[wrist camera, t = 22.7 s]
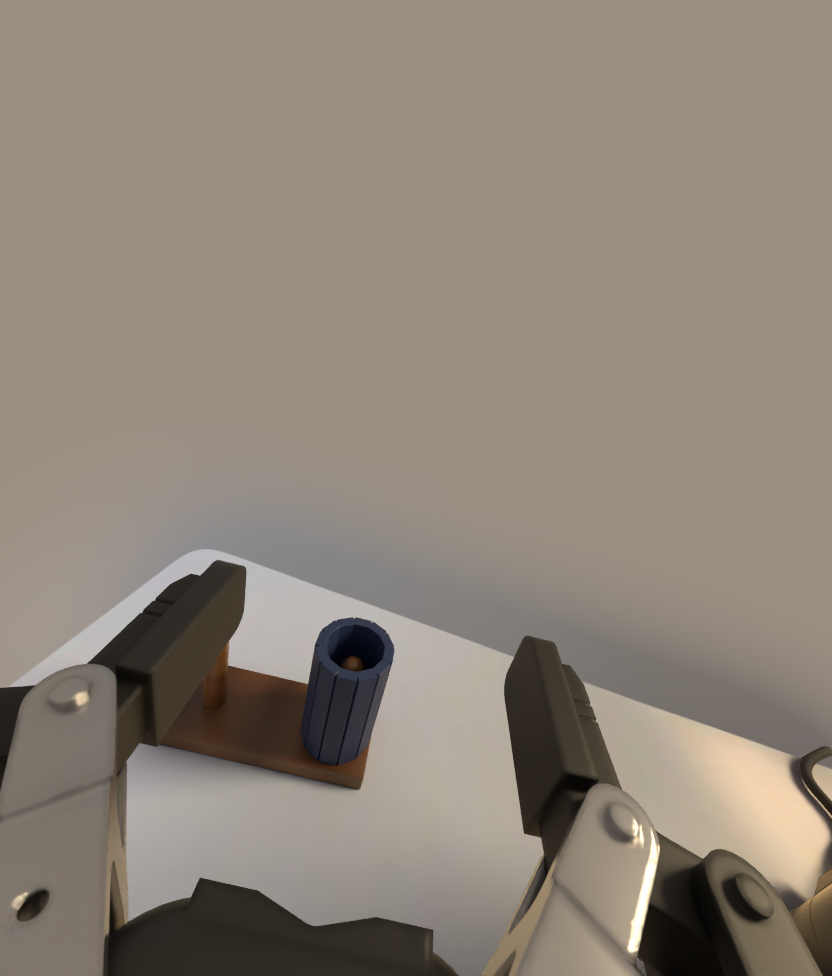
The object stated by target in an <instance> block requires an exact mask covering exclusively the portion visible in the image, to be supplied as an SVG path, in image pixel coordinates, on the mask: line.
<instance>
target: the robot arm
mask: <svg viewBox="0 0 832 976" xmlns="http://www.w3.org/2000/svg"><path fill="white" fill-rule="evenodd" d="M245 586H246V568H245V567H244V566H241V565H237V564H233V563H228V562H224V561H220V560H217V561H215V562H213V563H212V564H211V565H210V566H209V567H208V568H207V570H206V571H205V572H204V573H203V574H202V575H201V576H198V575H194V574H189V575H187V576H185V577H183V578H181V579H179V580H178V581H176V582H174V583H172V584H170V585H169V586H168V587H167V588H166V589H165V590H164V591H163V592H162V593H161V594H160V595H159V596H158V597H157V598H156V600H155V601H152V602H151V603H150V604H149V605H148V606H147V607H146V608H145V609H144V611H143V613H140V614H139V615H138V616H137V617H136V618H135V619H134V620H133V621H131V622H130V623H129V624H128V625H127V626H126V627H125V628H124V629H123V630H122V631H121V632H120V633H119V634H118V635H117V636H116V637H115V638H114V639H113V640H112V641H111V642H110V643H108V644H107V645H106V646H105V647H104V648H103V649H102V650H101V651H100V652H99V653H98V654H97V655H96V656H95V657H94V658H93V659H92V660H91V661H89V662H88V663H87V664H82V665H76V666H72V667H69V668H65V669H63V670H60V671H58V672H56V673H54V674H52V675H50V676H48V677H47V678H45V679H43V680H42V681H41V682H39V683H38V684H37V685H34V686H24V687H8V688H0V976H459V975H458V974H457V973H456V972H455V970H454V969H453V968H452V967H451V966H449V965H448V964H447V963H446V962H445V961H444V960H443V959H442V958H441V957H439V956H438V955H436V954H435V953H433V930H431V929H427V928H422V927H418V926H413V925H409V924H404V923H400V922H395V921H391V920H386V919H382V918H377V917H375V918H368V919H362V920H356V921H349V922H343V923H336V924H330V925H323V926H311V925H309V924H307V923H305V922H303V921H302V920H301V919H299V918H298V917H296V916H295V915H293V914H292V913H290V912H289V911H287V910H286V909H284V908H283V907H281V906H280V905H278V904H277V903H275V902H274V901H272V900H271V899H269V898H268V897H266V896H265V895H263V894H262V893H260V892H259V891H257V890H253V889H248V888H244V887H239V886H235V885H230V884H226V883H221V882H217V881H212V880H208V879H203V878H200V879H199V881H198V883H197V885H196V888H195V890H194V892H193V894H192V897H191V898H185V899H180V900H176V901H173V902H170V903H166V904H163V905H161V906H159V907H156V908H154V909H152V910H149V911H147V912H145V913H143V914H141V915H140V916H138V917H136V918H134V919H133V920H131V921H129V922H128V883H127V866H126V792H127V764H126V761H127V760H128V758H129V757H130V755H131V754H132V753H133V751H134V750H135V749H136V747H137V746H138V744H139V743H142V744H146V745H151V746H155V747H157V746H158V744H159V743H160V741H161V740H162V738H163V737H164V735H165V734H166V732H167V731H168V730H169V728H170V727H171V725H172V724H173V722H174V721H175V719H176V718H177V716H178V715H179V713H180V712H181V710H182V709H183V708H184V706H185V705H186V703H187V702H188V700H189V699H190V697H191V696H192V694H193V693H194V691H195V690H196V688H197V687H198V686H199V684H200V683H201V681H202V680H203V678H204V677H205V675H206V674H207V672H208V671H209V669H210V668H211V666H212V665H213V664H214V662H215V661H216V659H217V658H218V656H219V655H220V653H221V652H222V650H223V649H224V647H225V646H226V644H227V643H228V642H229V640H230V639H231V637H232V636H233V634H234V633H235V631H236V630H237V628H238V626H239V624H240V621H241V619H242V615H243V611H244V602H245ZM504 696H505V704H506V711H507V718H508V725H509V732H510V739H511V746H512V753H513V760H514V767H515V774H516V781H517V788H518V795H519V802H520V809H521V816H522V823H523V830H524V834H528V835H532V836H537V837H541V839H542V845H543V850H544V854H543V855H542V856H541V858H540V860H539V862H538V864H537V866H536V868H535V870H534V872H533V874H532V877H531V879H530V881H529V883H528V885H527V887H526V889H525V891H524V893H523V895H522V898H521V900H520V902H519V904H518V906H517V908H516V910H515V912H514V914H513V916H512V919H511V921H510V923H509V925H508V927H507V929H506V931H505V933H504V935H503V937H502V939H501V941H500V943H499V945H498V947H497V949H496V951H495V952H494V954H493V956H492V957H491V959H490V961H489V962H488V964H487V966H486V968H485V969H484V971H483V973H482V975H481V976H644V975H643V973H642V972H641V971H640V970H639V969H638V968H637V958H639V959H640V960H642V961H643V963H644V966H645V970H646V974H647V976H832V869H831V870H829V871H828V872H827V873H825V874H824V875H823V876H821V877H820V878H819V879H818V883H817V887H816V891H815V895H814V896H813V897H811V898H810V899H809V900H807V901H806V902H804V903H803V904H802V905H800V906H799V907H797V908H793V909H791V910H789V911H788V910H787V908H786V906H785V904H784V903H783V901H782V899H781V898H780V897H779V895H778V894H777V892H776V891H775V890H774V888H773V887H772V886H771V885H770V883H769V882H768V881H767V880H766V879H765V878H764V877H763V876H762V874H760V873H759V872H758V871H757V870H756V869H755V868H754V867H753V866H752V865H750V864H749V863H748V862H747V861H745V860H744V859H742V858H741V857H739V856H738V855H736V854H734V853H732V852H729V851H727V850H722V849H716V850H713V851H711V852H710V853H709V854H708V855H707V856H706V857H705V858H704V859H702V858H700V857H699V856H697V855H695V854H693V853H692V852H690V851H688V850H687V849H685V848H683V847H681V846H680V845H678V844H676V843H675V842H673V841H671V840H669V839H668V838H666V837H664V836H663V835H661V834H660V833H658V832H657V831H655V828H654V826H653V824H652V822H651V820H650V819H649V817H648V815H647V814H646V813H645V811H644V810H643V809H642V807H641V806H640V805H639V804H638V803H637V802H636V801H635V800H634V799H633V798H632V797H631V796H630V795H628V794H627V793H626V792H624V791H623V790H622V788H621V786H620V784H619V781H618V778H617V775H616V773H615V770H614V767H613V764H612V762H611V759H610V756H609V753H608V750H607V748H606V745H605V742H604V739H603V737H602V734H601V731H600V728H599V726H598V723H596V717H595V715H594V712H593V709H592V707H591V706H590V701H589V698H588V695H587V693H586V690H585V687H584V684H583V683H582V681H581V680H580V679H579V677H578V676H577V675H576V673H575V672H574V670H573V669H572V668H571V666H569V665H564V664H562V663H561V660H560V656H559V654H558V650H557V647H556V645H555V644H554V642H552V641H547V640H543V639H539V638H535V637H531V636H525V637H524V638H523V640H522V642H521V644H520V646H519V648H518V650H517V653H516V655H515V657H514V659H513V661H512V663H511V665H510V668H509V670H508V672H507V675H506V679H505V686H504ZM829 756H832V749H830V748H829V747H825V746H824V747H821V748H818V749H816V750H814V751H812V752H811V753H809V754H807V755H805V756H804V757H802V758H801V759H802V761H801V765H800V771H801V776H802V779H803V781H804V782H805V784H806V785H807V787H808V788H809V789H810V791H811V792H812V793H813V794H814V796H815V797H816V798H817V799H818V800H819V801H820V802H821V804H822V805H823V806H824V807H825V808H826V809H827V810H828V812H829V813H830V814H831V815H832V801H831V800H830V799H829V798H828V797H827V795H826V794H825V793H824V792H823V791H822V790H821V789H820V787H819V786H818V785H817V783H816V782H815V780H814V779H813V776H812V768H813V766H814V765H815V764H816V763H817V762H818V761H820V760H821V759H824V758H826V757H829Z"/></svg>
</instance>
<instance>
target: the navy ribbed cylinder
mask: <svg viewBox="0 0 832 976" xmlns="http://www.w3.org/2000/svg"><path fill="white" fill-rule="evenodd" d="M393 655H394V645H393V643H392V641H391V639H390V637H389V635H388V633H386V631H385V630H384V629H383V628H381V627H380V626H378V625H377V624H376V623H374V622H373V623H372V624H371V621H369V620H364V619H360V618H355V620H354V618H353V617H352V618H345V619H339V620H337V622H336V621H333V622H332V623H330V624H329V625H328V626H326V627H325V628H323V629H322V631H321V632H320V634H319V636H318V639H317V641H316V644H315V649H314V655H313V660H312V666H311V672H310V678H309V683H308V689H307V695H306V700H305V706H304V712H303V718H302V723H301V730H300V731H301V736H302V741H303V746H305V749H306V750H307V751H308V752H309V753H310V754H311V755H312V756H313V757H314V758H315V759H316V760H318V759H319V762H323V763H327V764H331V765H336V763H337V764H338V765H341V764H344V763H347V762H350V761H353V760H355V758H357V757H358V756H359V755H360V754H361V753H362V752H363V750H364V749H365V748H366V747H367V745H368V743H369V740H370V737H371V734H372V730H373V727H374V723H375V720H376V716H377V713H378V710H379V706H380V703H381V699H382V696H383V693H384V689H385V686H386V682H387V679H388V676H389V672H390V669H391V665H392V662H393ZM351 656H354V657H357V658H359V659H360V660H361V661H362V663H363V671H359V672H355V671H351V670H346V669H342V668H341V665H342V663H343V661H344V660H345V659H346V658H348V657H351Z"/></svg>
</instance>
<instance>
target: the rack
mask: <svg viewBox="0 0 832 976" xmlns="http://www.w3.org/2000/svg"><path fill="white" fill-rule="evenodd" d="M228 654H229V642H228V643H227V644H226V646H225V647H224V649H223V650H222V652H221V653H220V655H219V656H218V658H217V659H216V661H215V662H214V664H213V665H212V666H211V668H210V669H209V671H208V672H207V674H206V675H205V677H204V678H203V680H202V681H201V683H200V684H199V686H198V687H197V688H196V690H195V691H194V693H193V694H192V696H191V697H190V699H189V700H188V702H187V703H186V705H185V706H184V708H183V709H182V710H181V712H180V713H179V715H178V716H177V718H176V719H175V721H174V722H173V724H172V725H171V727H170V728H169V730H168V731H167V732H166V734H165V735H164V737H163V738H162V740H161V741H160V743H159V744H162V745H166V746H171V747H175V748H180V749H184V750H188V751H193V752H197V753H202V754H206V755H210V756H215V757H219V758H224V759H228V760H232V761H237V762H241V763H246V764H250V765H254V766H259V767H263V768H268V769H272V770H276V771H281V772H285V773H289V774H294V775H298V776H303V777H307V778H311V779H316V780H320V781H325V782H329V783H333V784H338V785H342V786H347V787H351V788H355V789H360V788H361V784H362V781H363V777H364V772H365V766H366V761H367V756H368V750H369V745H370V740H369V743H368V745H367V747H366V748H365V749H364V750H363V752H362V753H361V754H360V755H359V756H358V757H357V758H355V760H353V761H350V762H347V763H344V764H341V765H338V764H337V763H336V765H331V764H327V763H323V762H319V759H318V760H316V759H315V758H314V757H313V756H312V755H311V754H310V753H309V752H308V751H307V750H306V749H305V746H303V741H302V736H301V731H300V730H301V723H302V718H303V712H304V706H305V700H306V695H307V689H308V684H305V683H300V682H296V681H292V680H287V679H283V678H279V677H275V676H270V675H266V674H262V673H257V672H253V671H249V670H245V669H240V668H236V667H232V666H228ZM341 668H342V669H346V670H351V671H355V672H359V671H363V663H362V661H361V660H360V659H359V658H357V657H354V656H351V657H348V658H346V659H345V660H344V661H343V663H342V665H341ZM370 739H371V737H370Z"/></svg>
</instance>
